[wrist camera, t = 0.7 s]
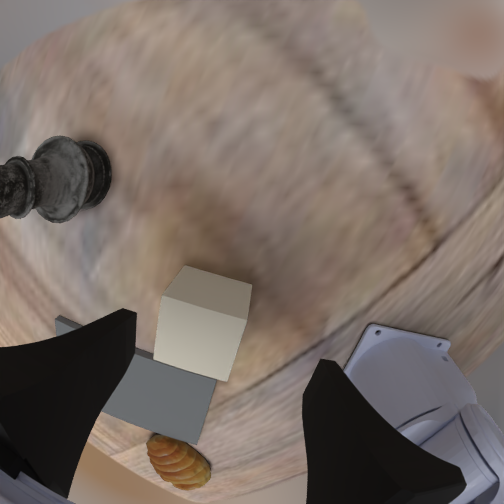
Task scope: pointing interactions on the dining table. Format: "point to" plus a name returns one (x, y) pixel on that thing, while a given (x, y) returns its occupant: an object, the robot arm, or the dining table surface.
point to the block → (202, 322)
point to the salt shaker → (55, 180)
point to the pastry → (178, 462)
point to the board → (157, 395)
